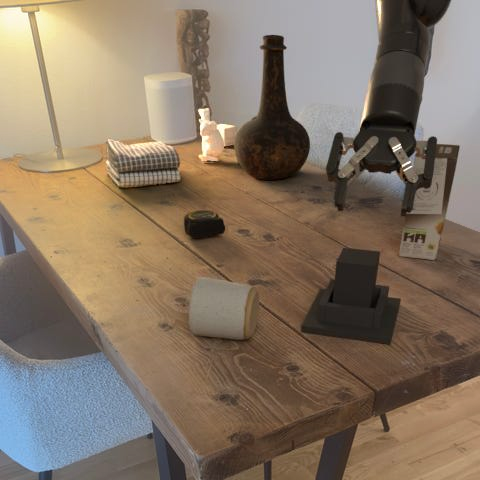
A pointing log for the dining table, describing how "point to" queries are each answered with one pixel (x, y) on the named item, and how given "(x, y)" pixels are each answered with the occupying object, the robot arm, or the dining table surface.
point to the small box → (227, 133)
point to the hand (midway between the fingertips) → (371, 211)
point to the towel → (142, 163)
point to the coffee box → (429, 206)
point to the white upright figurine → (210, 137)
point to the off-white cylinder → (223, 309)
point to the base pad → (353, 317)
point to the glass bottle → (272, 124)
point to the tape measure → (203, 224)
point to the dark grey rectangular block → (356, 277)
